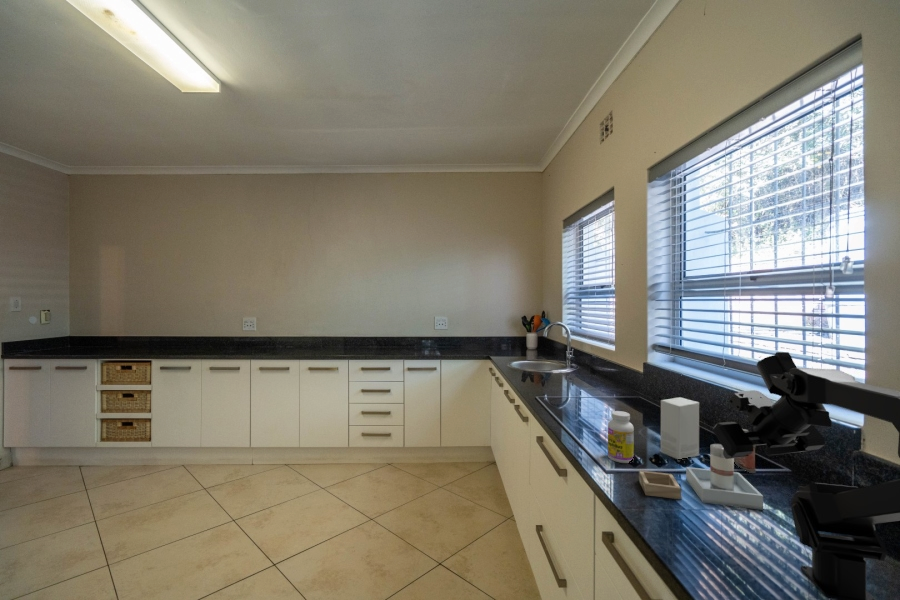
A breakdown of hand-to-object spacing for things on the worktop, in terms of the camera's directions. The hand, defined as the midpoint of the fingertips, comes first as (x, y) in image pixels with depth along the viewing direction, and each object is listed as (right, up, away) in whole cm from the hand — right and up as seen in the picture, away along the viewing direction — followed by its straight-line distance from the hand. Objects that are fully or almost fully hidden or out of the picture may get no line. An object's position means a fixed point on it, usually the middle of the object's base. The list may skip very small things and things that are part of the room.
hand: (745, 454), depth 81 cm
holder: (-14, -12, +9) cm, 20 cm away
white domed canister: (0, -11, +7) cm, 13 cm away
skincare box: (+3, -12, +29) cm, 31 cm away
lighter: (+16, -12, +21) cm, 29 cm away
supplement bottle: (-15, -12, +26) cm, 32 cm away
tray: (0, -12, +7) cm, 14 cm away
